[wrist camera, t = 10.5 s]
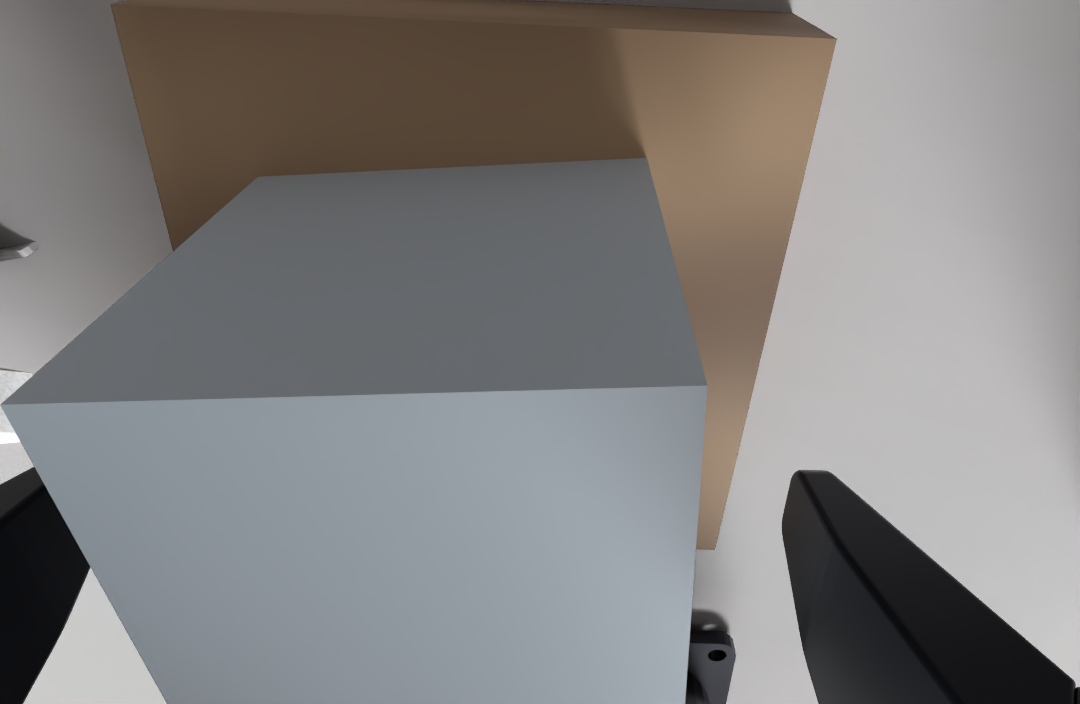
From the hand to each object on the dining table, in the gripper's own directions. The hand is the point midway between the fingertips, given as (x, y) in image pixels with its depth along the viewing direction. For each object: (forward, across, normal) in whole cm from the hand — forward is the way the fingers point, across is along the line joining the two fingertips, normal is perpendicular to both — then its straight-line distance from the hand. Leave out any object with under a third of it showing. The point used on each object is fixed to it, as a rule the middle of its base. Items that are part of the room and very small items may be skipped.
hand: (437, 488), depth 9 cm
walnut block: (+7, 0, 0) cm, 7 cm away
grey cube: (+4, 0, 0) cm, 4 cm away
